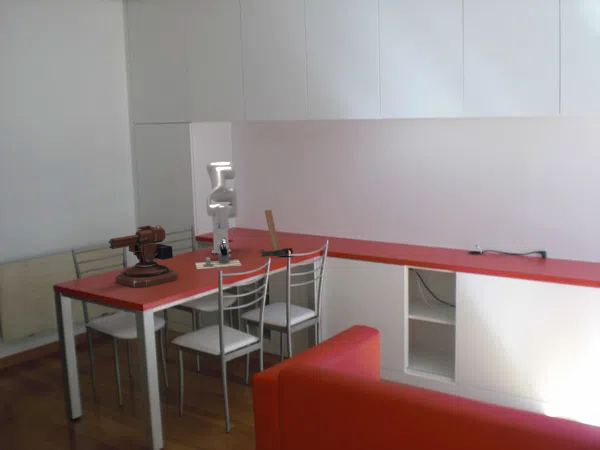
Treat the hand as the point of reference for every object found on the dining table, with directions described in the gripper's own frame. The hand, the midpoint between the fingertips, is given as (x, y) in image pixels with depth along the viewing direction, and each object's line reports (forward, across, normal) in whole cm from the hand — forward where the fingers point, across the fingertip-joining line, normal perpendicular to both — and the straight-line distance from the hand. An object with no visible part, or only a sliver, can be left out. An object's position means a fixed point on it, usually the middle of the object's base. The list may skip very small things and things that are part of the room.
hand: (223, 254), depth 419 cm
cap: (+5, -1, 0) cm, 5 cm away
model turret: (+7, +28, -48) cm, 56 cm away
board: (+6, +3, -4) cm, 8 cm away
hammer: (+6, -14, +34) cm, 37 cm away
